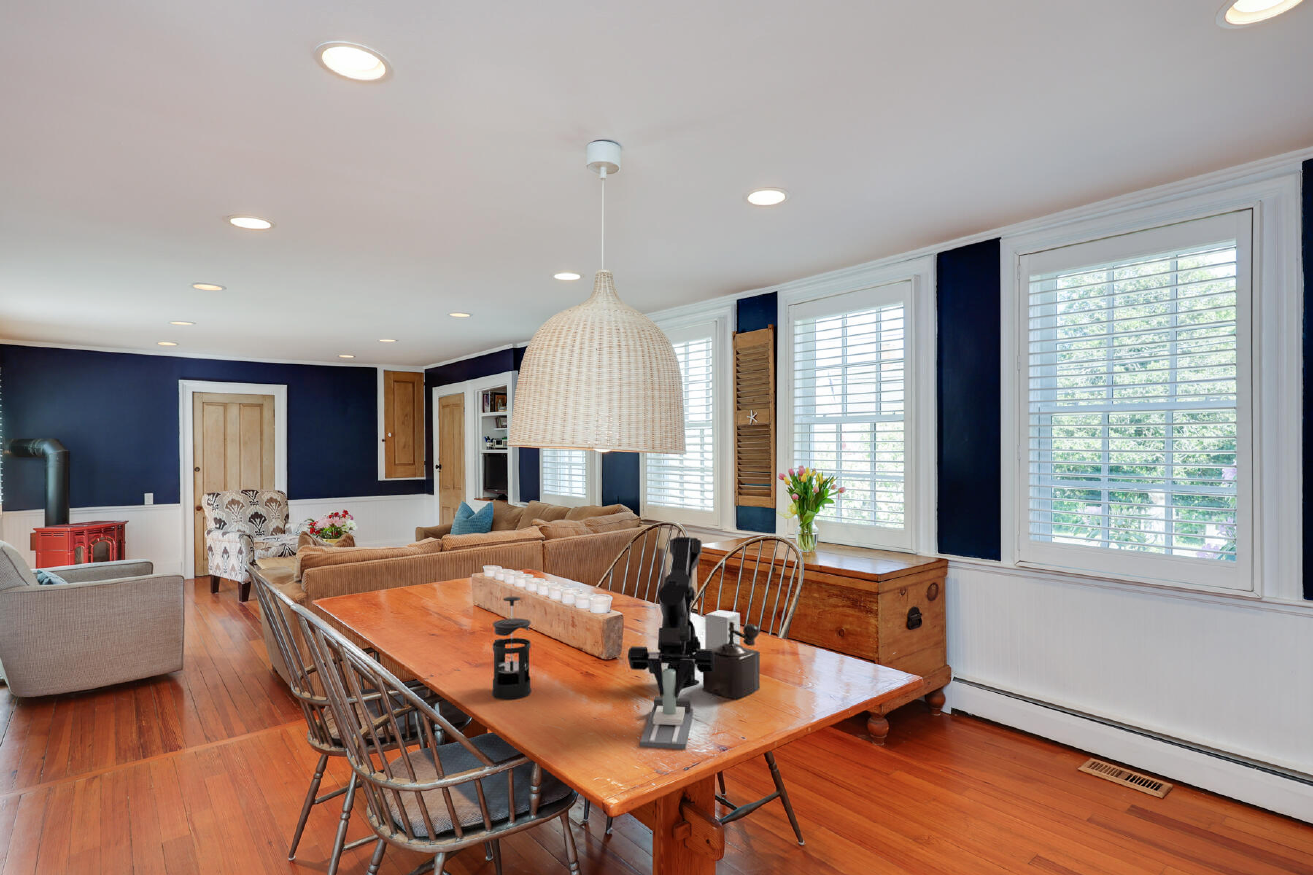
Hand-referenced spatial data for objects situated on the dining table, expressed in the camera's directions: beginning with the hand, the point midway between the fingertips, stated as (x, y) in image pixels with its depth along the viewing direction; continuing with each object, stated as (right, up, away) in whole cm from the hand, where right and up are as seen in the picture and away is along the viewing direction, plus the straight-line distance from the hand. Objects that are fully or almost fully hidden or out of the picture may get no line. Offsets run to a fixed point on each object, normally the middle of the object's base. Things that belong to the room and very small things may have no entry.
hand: (668, 696), depth 147 cm
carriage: (0, -5, +1) cm, 5 cm away
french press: (-38, -7, +22) cm, 44 cm away
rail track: (0, -7, -1) cm, 7 cm away
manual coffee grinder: (+17, -7, +21) cm, 28 cm away
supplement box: (+16, -8, +49) cm, 52 cm away
